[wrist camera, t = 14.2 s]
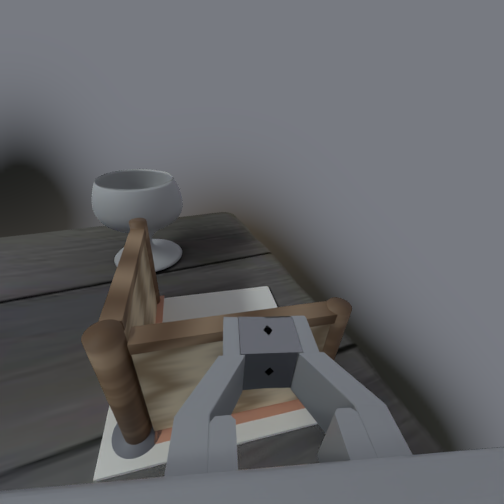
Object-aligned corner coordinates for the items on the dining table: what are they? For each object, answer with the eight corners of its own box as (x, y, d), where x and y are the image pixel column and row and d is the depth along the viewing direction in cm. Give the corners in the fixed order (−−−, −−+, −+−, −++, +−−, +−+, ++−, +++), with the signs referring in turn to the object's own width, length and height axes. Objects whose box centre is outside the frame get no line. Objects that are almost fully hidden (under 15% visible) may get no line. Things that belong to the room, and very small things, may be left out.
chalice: (197, 243, 54) (192, 171, 46) (168, 284, 42) (155, 196, 34) (135, 235, 55) (121, 164, 48) (91, 272, 44) (61, 186, 36)
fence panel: (153, 436, 23) (126, 347, 16) (155, 412, 24) (131, 323, 18) (325, 397, 27) (357, 312, 20) (316, 379, 28) (343, 296, 22)
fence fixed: (151, 443, 23) (119, 344, 16) (122, 450, 22) (75, 351, 15) (162, 298, 39) (148, 217, 32) (145, 299, 39) (128, 218, 32)
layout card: (94, 481, 21) (93, 479, 20) (133, 301, 38) (132, 299, 38) (332, 420, 26) (333, 417, 25) (269, 285, 43) (269, 283, 43)
